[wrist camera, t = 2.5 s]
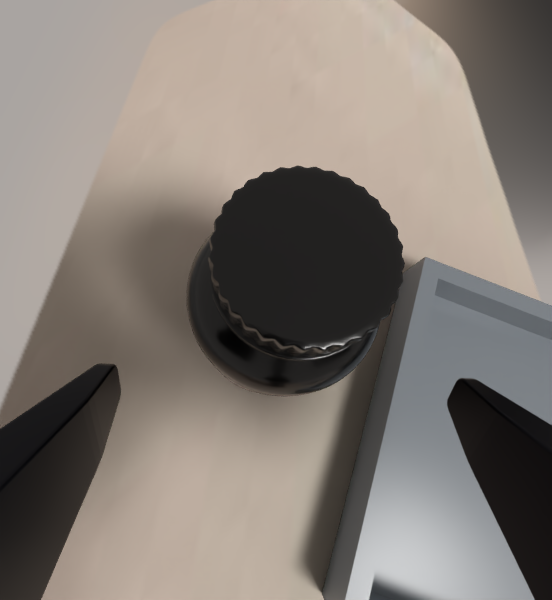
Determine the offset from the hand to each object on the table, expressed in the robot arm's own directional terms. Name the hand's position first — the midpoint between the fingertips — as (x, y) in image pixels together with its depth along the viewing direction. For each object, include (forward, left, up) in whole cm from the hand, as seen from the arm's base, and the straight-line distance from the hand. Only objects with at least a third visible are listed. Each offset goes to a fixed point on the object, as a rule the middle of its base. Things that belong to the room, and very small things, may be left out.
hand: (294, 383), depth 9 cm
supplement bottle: (+3, +1, -10) cm, 11 cm away
